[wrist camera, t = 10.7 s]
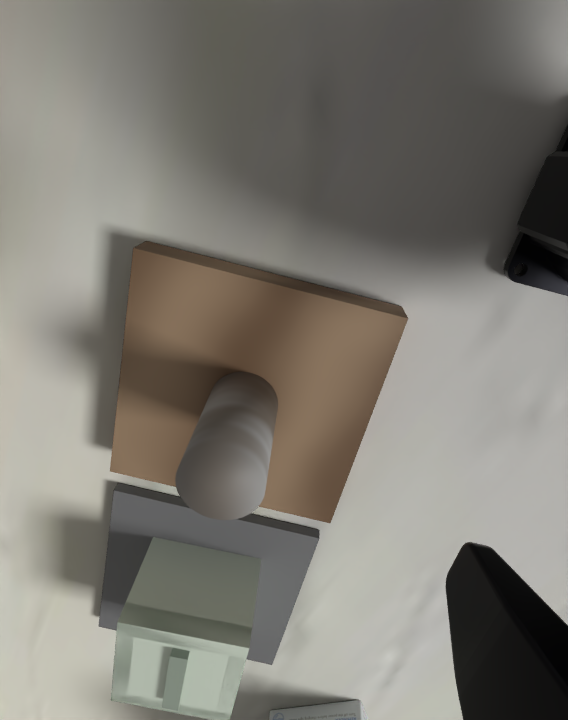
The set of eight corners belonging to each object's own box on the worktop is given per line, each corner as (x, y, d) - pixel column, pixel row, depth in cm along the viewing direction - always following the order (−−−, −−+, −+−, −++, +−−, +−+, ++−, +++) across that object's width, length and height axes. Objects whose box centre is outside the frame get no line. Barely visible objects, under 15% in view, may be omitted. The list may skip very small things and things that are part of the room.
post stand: (401, 306, 20) (442, 382, 13) (329, 502, 24) (334, 628, 18) (146, 240, 19) (62, 286, 13) (121, 452, 24) (50, 564, 17)
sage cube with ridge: (261, 559, 25) (248, 657, 20) (243, 629, 28) (227, 732, 23) (153, 536, 25) (113, 630, 20) (144, 610, 28) (107, 709, 23)
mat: (319, 529, 25) (319, 538, 25) (272, 655, 30) (272, 665, 29) (118, 482, 25) (113, 490, 24) (102, 617, 29) (98, 626, 29)
